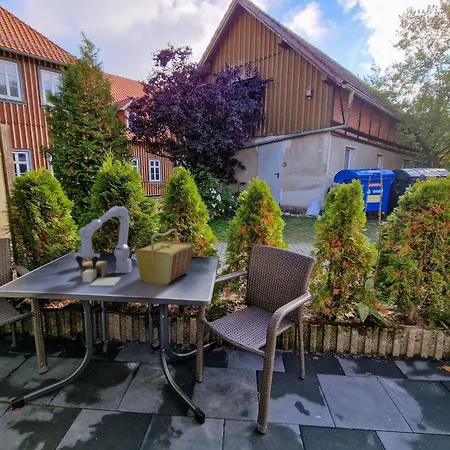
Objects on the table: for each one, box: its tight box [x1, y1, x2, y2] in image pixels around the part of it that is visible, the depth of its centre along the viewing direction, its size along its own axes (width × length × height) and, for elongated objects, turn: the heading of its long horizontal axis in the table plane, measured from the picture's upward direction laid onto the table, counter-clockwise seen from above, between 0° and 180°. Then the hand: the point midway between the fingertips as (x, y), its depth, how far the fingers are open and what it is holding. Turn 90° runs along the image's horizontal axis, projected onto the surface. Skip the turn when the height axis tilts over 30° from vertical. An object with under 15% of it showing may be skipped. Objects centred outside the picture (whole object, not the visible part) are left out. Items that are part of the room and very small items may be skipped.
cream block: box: [82, 268, 98, 283], centre depth 182 cm, size 4×10×6 cm, turn 3°
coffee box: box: [77, 243, 95, 269], centre depth 206 cm, size 9×6×16 cm
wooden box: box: [79, 260, 109, 279], centre depth 188 cm, size 14×8×8 cm, turn 92°
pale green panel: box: [88, 276, 122, 287], centre depth 177 cm, size 14×14×1 cm
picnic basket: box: [134, 228, 194, 286], centre depth 185 cm, size 29×26×30 cm
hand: (87, 268), depth 179 cm, fingers open, 7 cm apart
